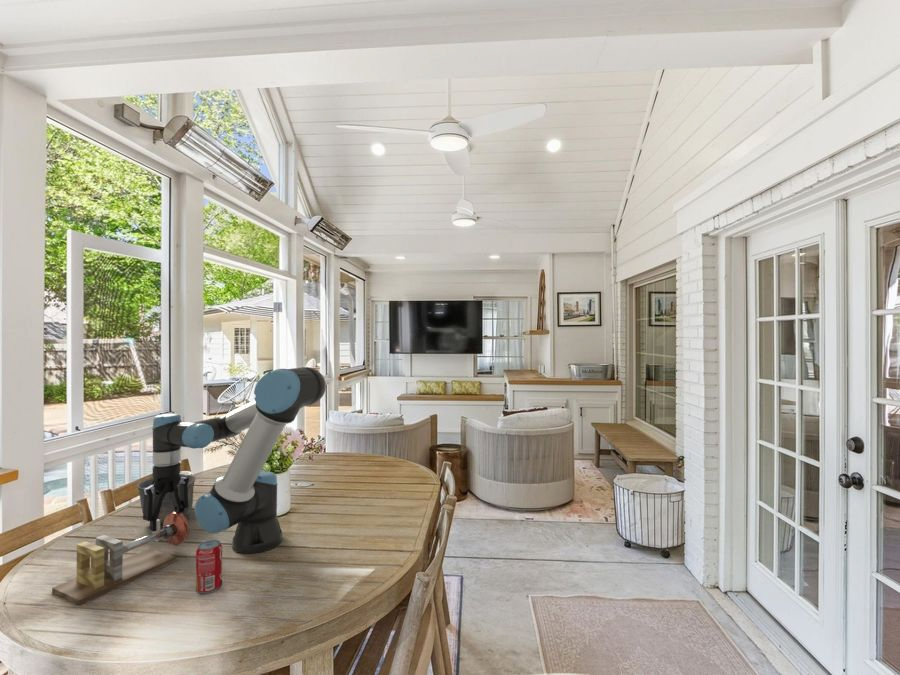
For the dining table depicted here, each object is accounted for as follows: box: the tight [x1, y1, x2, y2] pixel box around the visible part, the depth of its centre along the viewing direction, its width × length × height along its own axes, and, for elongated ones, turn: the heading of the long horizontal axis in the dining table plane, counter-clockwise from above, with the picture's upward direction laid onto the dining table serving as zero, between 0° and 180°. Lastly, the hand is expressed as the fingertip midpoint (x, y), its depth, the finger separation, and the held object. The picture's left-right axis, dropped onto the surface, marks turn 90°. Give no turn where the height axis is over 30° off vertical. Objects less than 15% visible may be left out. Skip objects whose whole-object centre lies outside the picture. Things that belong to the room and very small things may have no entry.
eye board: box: [51, 534, 178, 606], centre depth 126 cm, size 13×25×11 cm, turn 155°
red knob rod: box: [123, 511, 190, 554], centre depth 134 cm, size 10×17×10 cm, turn 155°
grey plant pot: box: [136, 474, 196, 525], centre depth 164 cm, size 18×18×15 cm
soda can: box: [195, 539, 223, 595], centre depth 120 cm, size 6×6×12 cm
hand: (166, 536), depth 142 cm, fingers open, 5 cm apart
